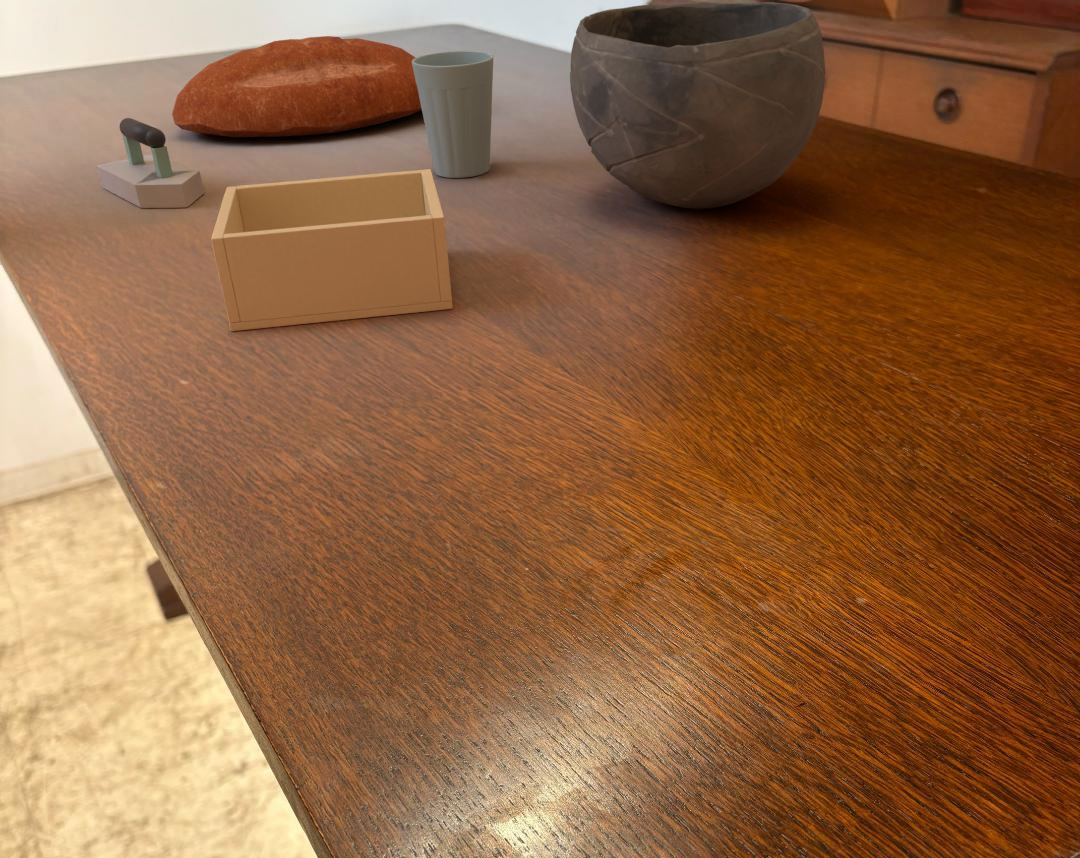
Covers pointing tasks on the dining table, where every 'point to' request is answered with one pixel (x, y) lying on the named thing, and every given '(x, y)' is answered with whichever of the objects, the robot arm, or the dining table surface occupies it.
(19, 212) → the dining table surface
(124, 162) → the handle on base
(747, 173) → the bowl
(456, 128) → the cup
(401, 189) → the open wooden box
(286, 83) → the bread
